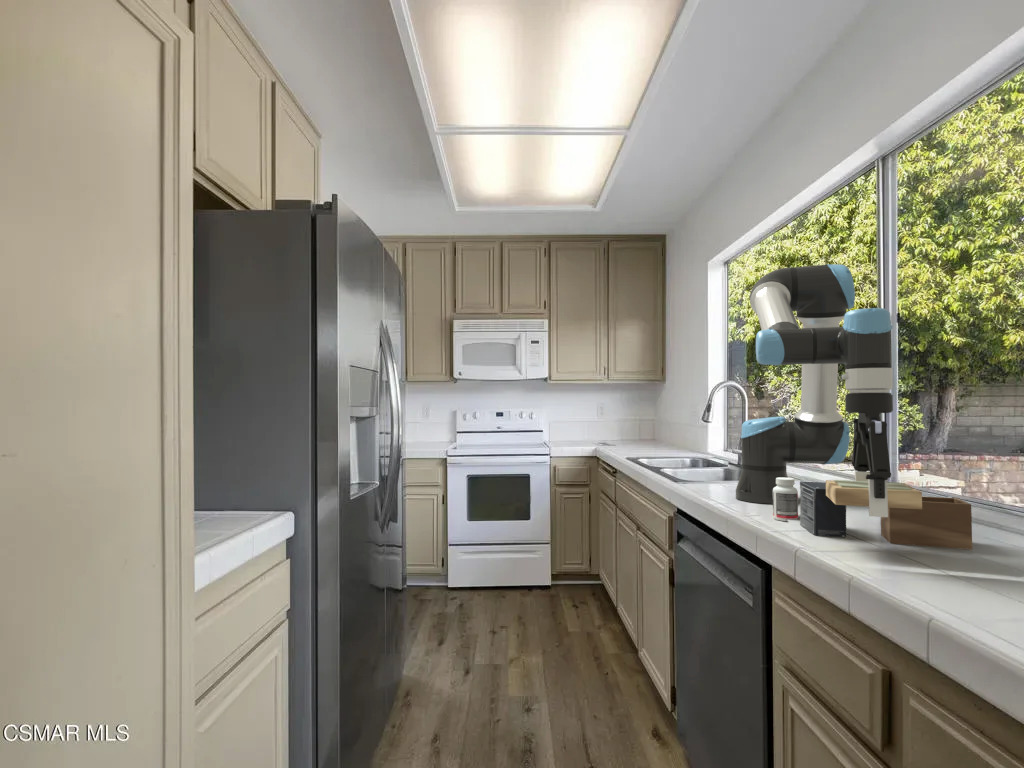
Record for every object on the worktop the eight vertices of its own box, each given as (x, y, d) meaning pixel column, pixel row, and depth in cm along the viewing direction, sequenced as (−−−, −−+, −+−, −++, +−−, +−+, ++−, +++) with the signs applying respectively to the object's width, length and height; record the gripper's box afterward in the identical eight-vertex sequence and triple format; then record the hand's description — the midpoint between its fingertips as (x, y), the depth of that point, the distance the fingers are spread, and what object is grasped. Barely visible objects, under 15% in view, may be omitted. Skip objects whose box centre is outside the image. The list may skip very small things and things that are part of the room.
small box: (849, 541, 115) (848, 489, 115) (814, 539, 116) (813, 488, 116) (830, 529, 125) (830, 481, 125) (799, 527, 126) (798, 480, 127)
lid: (825, 495, 113) (825, 478, 113) (904, 499, 108) (903, 481, 108) (835, 504, 103) (835, 486, 103) (922, 509, 98) (921, 490, 98)
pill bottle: (803, 521, 133) (802, 479, 133) (783, 522, 131) (783, 480, 132) (787, 516, 138) (786, 476, 138) (768, 517, 137) (767, 477, 137)
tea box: (881, 538, 116) (880, 494, 117) (957, 543, 112) (956, 498, 112) (890, 546, 110) (889, 500, 110) (972, 553, 105) (971, 504, 105)
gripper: (834, 392, 118) (836, 498, 118) (859, 391, 97) (861, 521, 96) (876, 392, 115) (878, 501, 115) (911, 390, 94) (914, 525, 93)
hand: (870, 510), depth 105 cm, fingers closed on lid, 10 cm apart
